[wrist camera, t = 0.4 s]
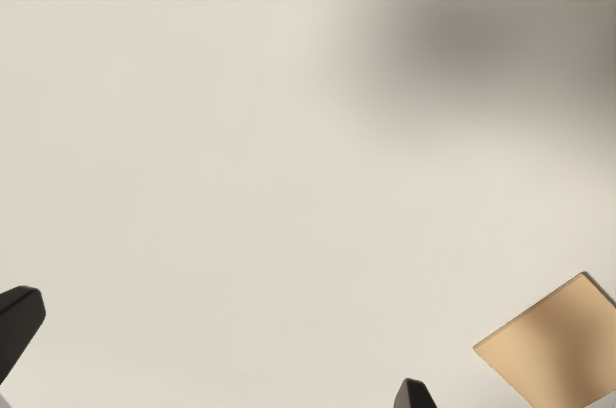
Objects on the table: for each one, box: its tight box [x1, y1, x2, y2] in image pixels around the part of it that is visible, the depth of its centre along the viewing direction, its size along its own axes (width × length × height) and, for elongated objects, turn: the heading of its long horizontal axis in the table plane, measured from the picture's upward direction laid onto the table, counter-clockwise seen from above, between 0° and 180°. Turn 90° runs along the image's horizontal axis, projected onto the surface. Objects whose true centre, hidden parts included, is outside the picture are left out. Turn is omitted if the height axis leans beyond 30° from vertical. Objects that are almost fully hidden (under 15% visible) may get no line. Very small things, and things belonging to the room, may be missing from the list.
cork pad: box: [473, 273, 616, 408], centre depth 25 cm, size 8×8×1 cm
